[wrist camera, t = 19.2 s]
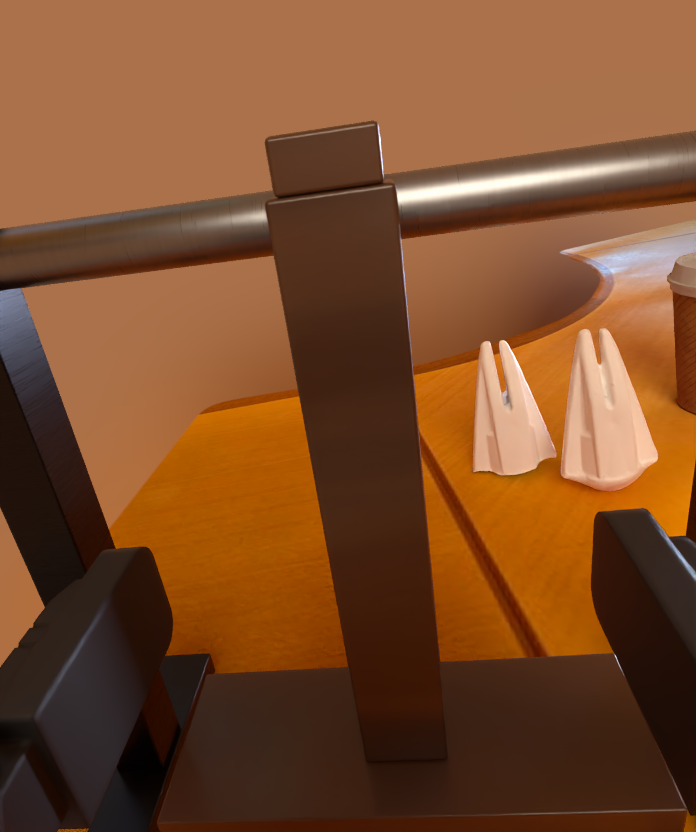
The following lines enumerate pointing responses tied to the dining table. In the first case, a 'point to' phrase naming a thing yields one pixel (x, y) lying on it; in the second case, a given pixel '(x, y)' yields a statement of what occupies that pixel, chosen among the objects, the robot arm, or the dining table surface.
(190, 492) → the dining table surface
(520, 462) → the shaker set
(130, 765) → the rack
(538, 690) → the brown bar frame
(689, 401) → the disposable coffee cup
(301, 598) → the dining table surface
